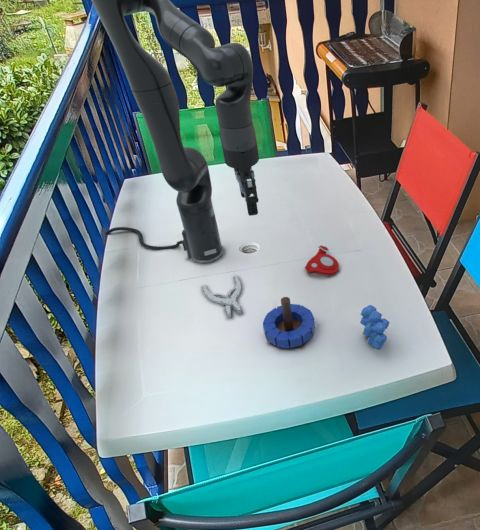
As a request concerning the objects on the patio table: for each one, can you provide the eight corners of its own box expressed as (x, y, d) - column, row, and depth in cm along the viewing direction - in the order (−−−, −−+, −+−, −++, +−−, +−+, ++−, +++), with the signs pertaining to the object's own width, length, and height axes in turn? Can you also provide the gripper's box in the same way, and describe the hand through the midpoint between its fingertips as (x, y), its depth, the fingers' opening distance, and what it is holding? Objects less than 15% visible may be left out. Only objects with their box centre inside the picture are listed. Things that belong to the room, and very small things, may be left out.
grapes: (398, 355, 119) (401, 320, 112) (373, 364, 117) (373, 328, 110) (379, 323, 128) (380, 288, 120) (355, 330, 125) (354, 295, 118)
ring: (258, 344, 120) (256, 337, 118) (272, 309, 130) (271, 301, 128) (308, 350, 119) (307, 342, 117) (319, 314, 128) (318, 306, 127)
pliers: (236, 273, 140) (252, 305, 130) (237, 277, 141) (253, 309, 131) (201, 283, 136) (215, 317, 126) (202, 287, 137) (216, 322, 127)
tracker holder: (346, 268, 143) (316, 273, 137) (341, 278, 146) (312, 284, 140) (327, 239, 149) (298, 243, 143) (323, 250, 152) (294, 254, 146)
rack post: (269, 343, 122) (263, 309, 114) (278, 320, 128) (273, 287, 121) (301, 347, 121) (297, 313, 114) (308, 323, 127) (305, 290, 120)
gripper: (216, 132, 112) (228, 193, 122) (227, 159, 102) (239, 224, 112) (249, 127, 115) (258, 188, 125) (263, 153, 104) (272, 217, 115)
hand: (249, 205), depth 119 cm, fingers open, 8 cm apart
